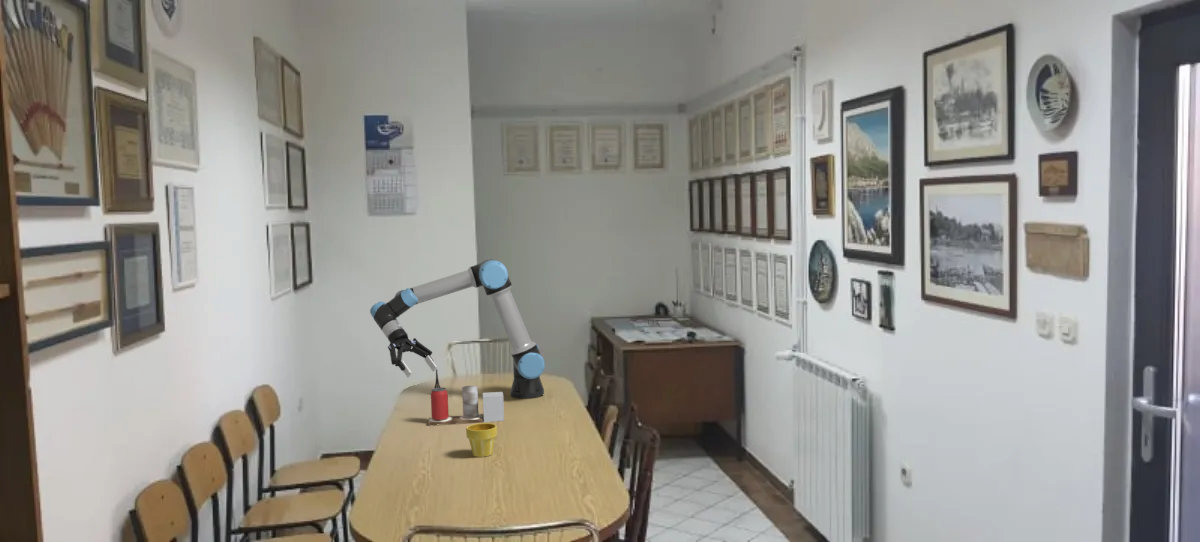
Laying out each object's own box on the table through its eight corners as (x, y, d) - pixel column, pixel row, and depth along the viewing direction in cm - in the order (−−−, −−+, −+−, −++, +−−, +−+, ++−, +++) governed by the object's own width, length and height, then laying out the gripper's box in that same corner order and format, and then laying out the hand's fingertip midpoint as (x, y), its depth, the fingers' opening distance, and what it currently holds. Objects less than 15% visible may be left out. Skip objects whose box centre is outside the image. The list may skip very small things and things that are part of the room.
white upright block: (503, 416, 350) (502, 391, 349) (504, 420, 342) (503, 395, 341) (483, 417, 348) (482, 392, 348) (483, 422, 341) (482, 397, 340)
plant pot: (469, 460, 288) (468, 431, 287) (465, 452, 298) (464, 424, 297) (500, 457, 290) (498, 428, 290) (495, 449, 300) (494, 421, 300)
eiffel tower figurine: (419, 399, 389) (418, 370, 388) (421, 395, 399) (420, 366, 398) (453, 397, 391) (452, 368, 390) (454, 393, 401) (453, 364, 400)
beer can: (450, 416, 345) (449, 387, 344) (446, 420, 338) (444, 390, 338) (434, 417, 346) (433, 387, 345) (429, 421, 339) (428, 390, 338)
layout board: (482, 417, 349) (481, 384, 348) (482, 422, 340) (481, 388, 339) (429, 420, 346) (428, 387, 345) (428, 425, 337) (426, 392, 336)
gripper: (414, 335, 369) (440, 372, 361) (367, 344, 349) (394, 384, 341) (422, 323, 365) (449, 361, 358) (375, 331, 345) (402, 371, 337)
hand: (422, 372), depth 349 cm, fingers open, 13 cm apart
